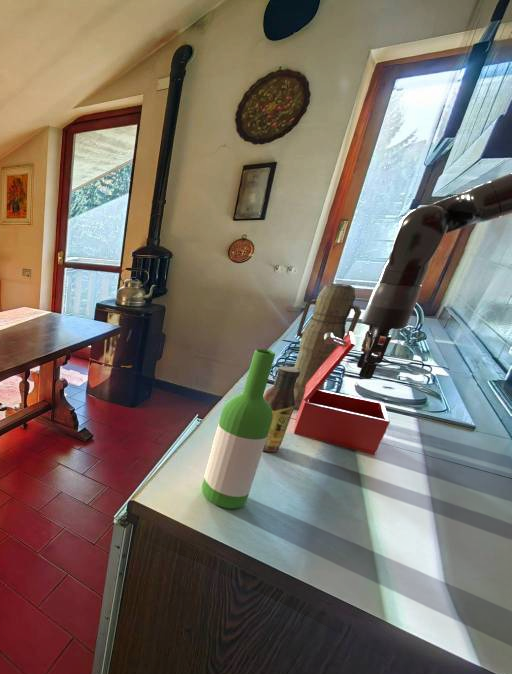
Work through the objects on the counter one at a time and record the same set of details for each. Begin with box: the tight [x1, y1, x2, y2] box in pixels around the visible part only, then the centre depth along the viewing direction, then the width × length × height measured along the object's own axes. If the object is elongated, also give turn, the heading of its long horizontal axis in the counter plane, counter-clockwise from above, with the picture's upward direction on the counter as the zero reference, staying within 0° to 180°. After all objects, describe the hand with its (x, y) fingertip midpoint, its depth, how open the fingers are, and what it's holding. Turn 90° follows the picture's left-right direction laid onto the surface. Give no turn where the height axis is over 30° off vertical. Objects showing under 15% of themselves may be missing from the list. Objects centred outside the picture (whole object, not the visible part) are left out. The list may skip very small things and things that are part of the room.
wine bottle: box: [201, 348, 276, 510], centre depth 70 cm, size 8×8×30 cm
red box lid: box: [304, 332, 356, 401], centre depth 97 cm, size 16×13×5 cm
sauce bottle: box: [263, 365, 300, 453], centre depth 90 cm, size 7×6×20 cm
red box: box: [293, 390, 391, 456], centre depth 98 cm, size 16×13×9 cm
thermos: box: [293, 283, 362, 411], centre depth 108 cm, size 9×12×35 cm
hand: (363, 372), depth 92 cm, fingers open, 8 cm apart
